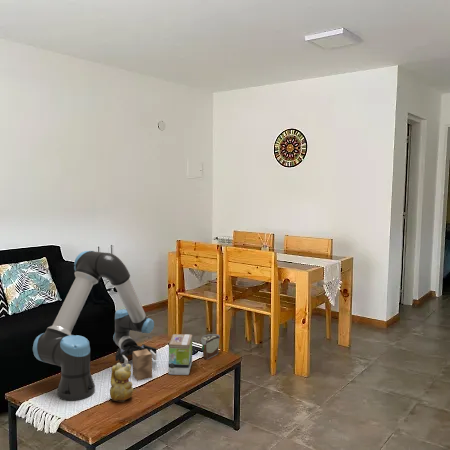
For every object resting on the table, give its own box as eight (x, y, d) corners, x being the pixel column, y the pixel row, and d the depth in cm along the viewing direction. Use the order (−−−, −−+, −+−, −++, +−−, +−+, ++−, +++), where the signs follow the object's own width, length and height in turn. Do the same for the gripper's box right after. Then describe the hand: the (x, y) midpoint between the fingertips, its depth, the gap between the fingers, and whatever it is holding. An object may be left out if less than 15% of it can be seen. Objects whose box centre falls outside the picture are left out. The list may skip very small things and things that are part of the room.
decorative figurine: (135, 395, 196) (134, 361, 195) (129, 405, 188) (129, 369, 187) (112, 394, 197) (112, 360, 196) (106, 404, 189) (105, 368, 187)
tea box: (189, 375, 217) (189, 344, 215) (167, 375, 217) (167, 344, 215) (192, 362, 232) (192, 333, 230) (172, 362, 232) (172, 333, 230)
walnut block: (137, 380, 211) (137, 356, 210) (132, 374, 217) (132, 351, 216) (152, 377, 214) (152, 353, 213) (147, 371, 220) (147, 348, 219)
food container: (210, 350, 248) (210, 332, 247) (219, 353, 244) (220, 334, 243) (195, 357, 238) (195, 338, 237) (205, 360, 234) (205, 341, 233)
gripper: (151, 348, 243) (166, 363, 224) (103, 357, 231) (115, 373, 212) (151, 334, 242) (166, 347, 224) (103, 342, 230) (114, 357, 212)
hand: (141, 360), depth 218 cm, fingers open, 13 cm apart
